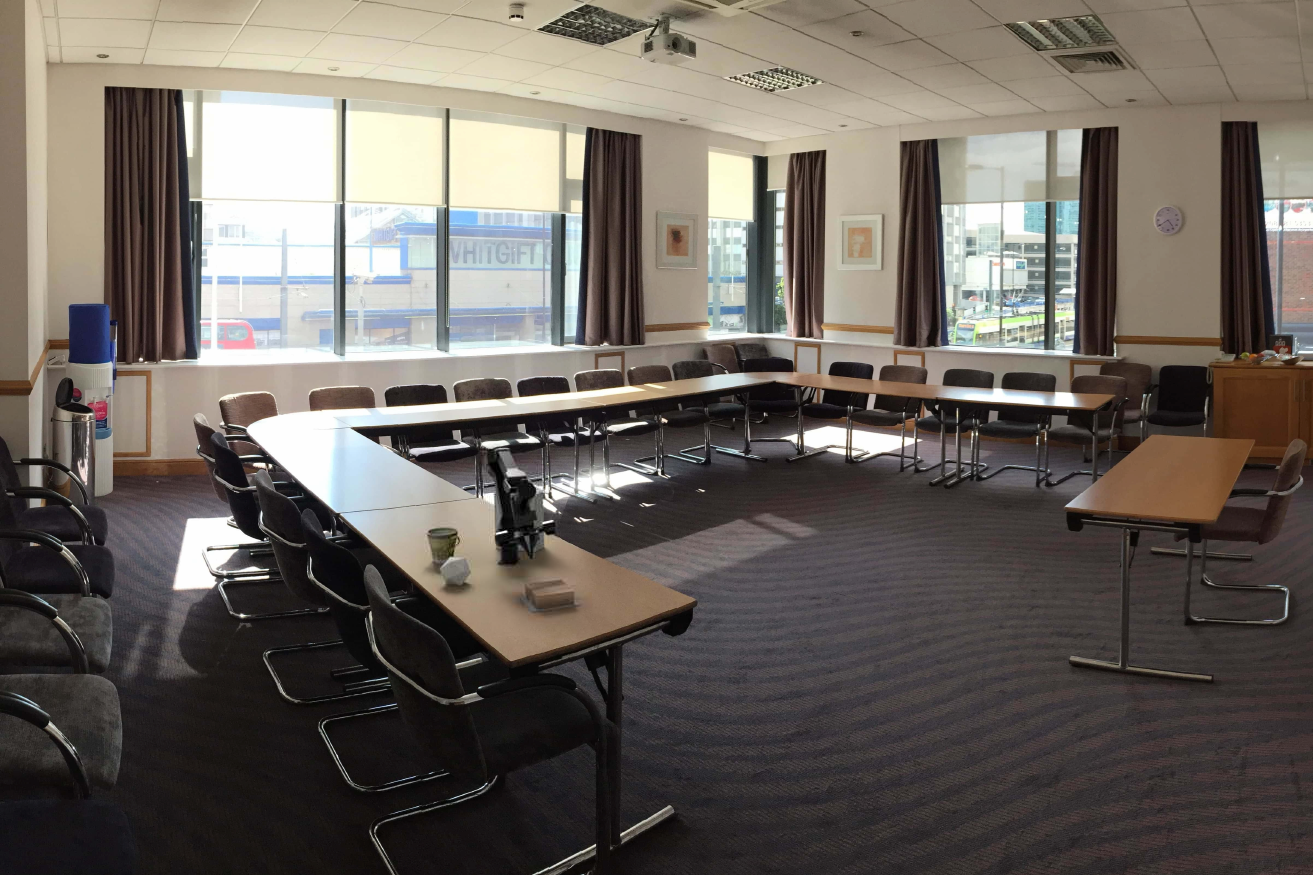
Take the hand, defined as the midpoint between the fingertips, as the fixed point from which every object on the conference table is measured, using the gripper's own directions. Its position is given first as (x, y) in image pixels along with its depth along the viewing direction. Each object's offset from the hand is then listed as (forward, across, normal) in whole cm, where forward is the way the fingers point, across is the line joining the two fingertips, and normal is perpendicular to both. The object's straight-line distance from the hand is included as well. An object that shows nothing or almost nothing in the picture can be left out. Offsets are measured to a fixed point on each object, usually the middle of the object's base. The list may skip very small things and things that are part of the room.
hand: (531, 559), depth 283 cm
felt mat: (+16, +3, -8) cm, 19 cm away
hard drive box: (-18, -5, +38) cm, 43 cm away
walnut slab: (+11, +2, -4) cm, 12 cm away
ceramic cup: (-14, -28, +26) cm, 41 cm away
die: (0, -24, +7) cm, 25 cm away
